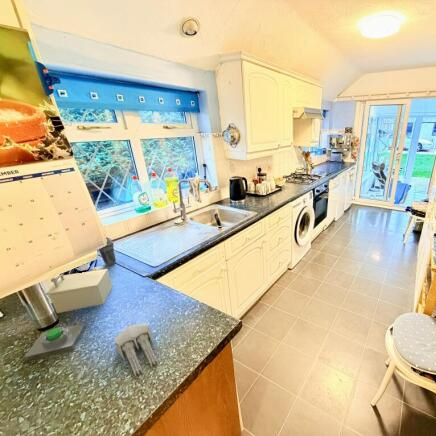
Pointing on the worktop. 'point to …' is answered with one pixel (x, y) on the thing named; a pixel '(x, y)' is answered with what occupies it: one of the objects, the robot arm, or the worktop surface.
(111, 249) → the beverage cup
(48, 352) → the block
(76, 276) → the chest lid
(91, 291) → the chest
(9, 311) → the worktop surface
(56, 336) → the button
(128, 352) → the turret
